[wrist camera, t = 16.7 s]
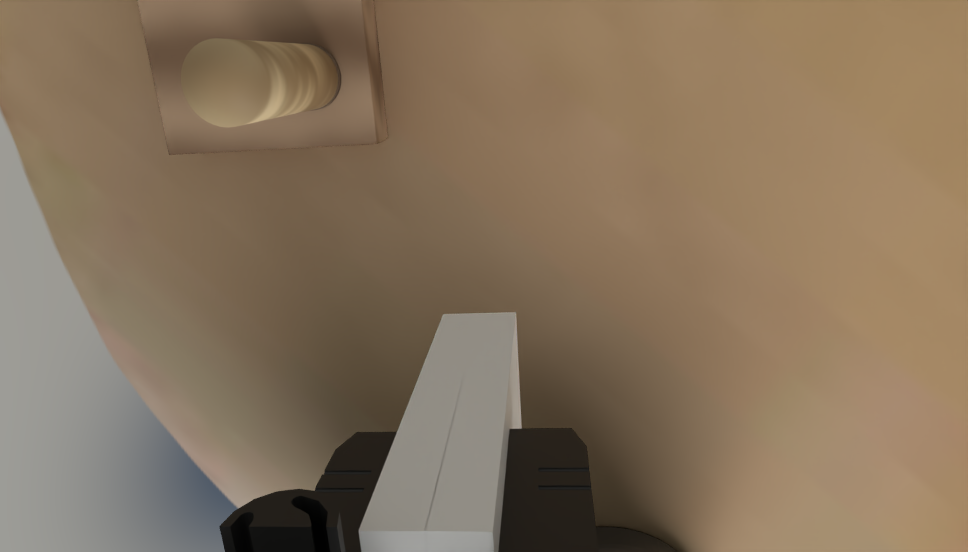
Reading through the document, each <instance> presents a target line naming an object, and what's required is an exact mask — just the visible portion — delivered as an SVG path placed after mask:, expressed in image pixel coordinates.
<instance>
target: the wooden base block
mask: <svg viewBox="0 0 968 552" xmlns="http://www.w3.org/2000/svg"><path fill="white" fill-rule="evenodd" d="M137 2H138V7H139V12H140V16H141V21H142V26H143V31H144V36H145V41H146V45H147V50H148V55H149V60H150V65H151V70H152V74H153V79H154V84H155V89H156V94H157V99H158V103H159V108H160V113H161V118H162V123H163V127H164V132H165V137H166V142H167V147H168V152H169V155H176V154H195V153H214V152H233V151H252V150H271V149H290V148H309V147H328V146H347V145H365V144H378V143H380V142H382V141H384V140H386V139H387V138H388V132H387V122H386V113H385V103H384V93H383V84H382V74H381V65H380V55H379V46H378V36H377V26H376V17H375V7H374V0H137Z"/></svg>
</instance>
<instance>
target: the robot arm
mask: <svg viewBox="0 0 968 552" xmlns="http://www.w3.org/2000/svg"><path fill="white" fill-rule="evenodd" d="M220 531H221V535H222V539H223V544H224V549H225V552H677V551H676V550H674V549H673V548H672V547H670V546H669V545H667V544H665V543H664V542H662V541H660V540H658V539H656V538H654V537H652V536H649V535H647V534H644V533H641V532H637V531H634V530H629V529H623V528H615V527H596V526H595V517H594V508H593V499H592V491H591V482H590V473H589V464H588V455H587V446H586V445H585V444H584V443H583V441H582V440H581V439H580V438H579V437H578V435H577V434H576V433H575V432H574V431H573V430H572V428H537V429H522V424H521V404H520V383H519V363H518V343H517V323H516V312H503V313H464V314H443V316H442V319H441V321H440V324H439V326H438V329H437V331H436V334H435V336H434V339H433V342H432V344H431V347H430V349H429V352H428V354H427V357H426V359H425V362H424V365H423V367H422V370H421V372H420V375H419V377H418V380H417V382H416V385H415V388H414V390H413V393H412V395H411V398H410V400H409V403H408V405H407V408H406V411H405V413H404V416H403V418H402V421H401V423H400V426H399V428H398V431H397V432H357V433H355V434H354V435H353V436H352V437H351V438H349V439H348V440H347V441H346V442H345V443H343V444H342V445H341V446H340V447H338V448H337V449H336V450H335V452H334V454H333V456H332V457H331V459H330V461H329V463H328V465H327V467H326V469H325V473H324V475H322V476H321V478H320V480H319V482H318V484H317V486H316V488H315V491H311V490H303V489H294V490H286V491H278V492H274V493H271V494H268V495H265V496H262V497H259V498H257V499H254V500H252V501H251V502H249V503H247V504H246V505H244V506H242V507H241V508H239V509H237V510H236V511H234V512H233V513H232V514H231V515H230V516H229V517H228V518H227V519H226V520H225V521H224V522H223V523H222V524H221V526H220Z"/></svg>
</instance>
